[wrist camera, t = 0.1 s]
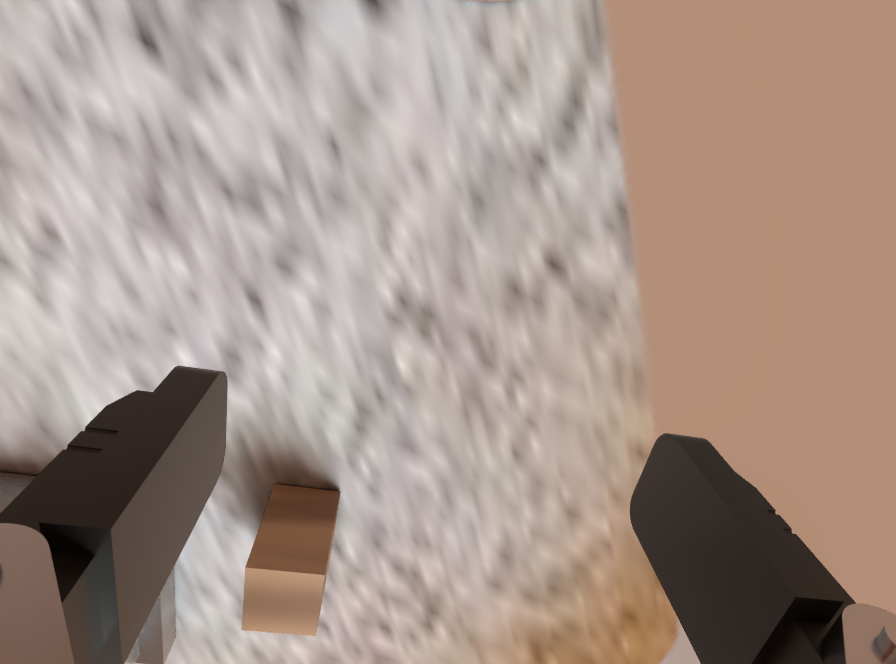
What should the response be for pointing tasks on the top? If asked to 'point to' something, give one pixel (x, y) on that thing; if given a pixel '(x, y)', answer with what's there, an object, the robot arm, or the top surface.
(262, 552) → the walnut block
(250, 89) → the top surface
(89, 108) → the top surface
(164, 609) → the plate
